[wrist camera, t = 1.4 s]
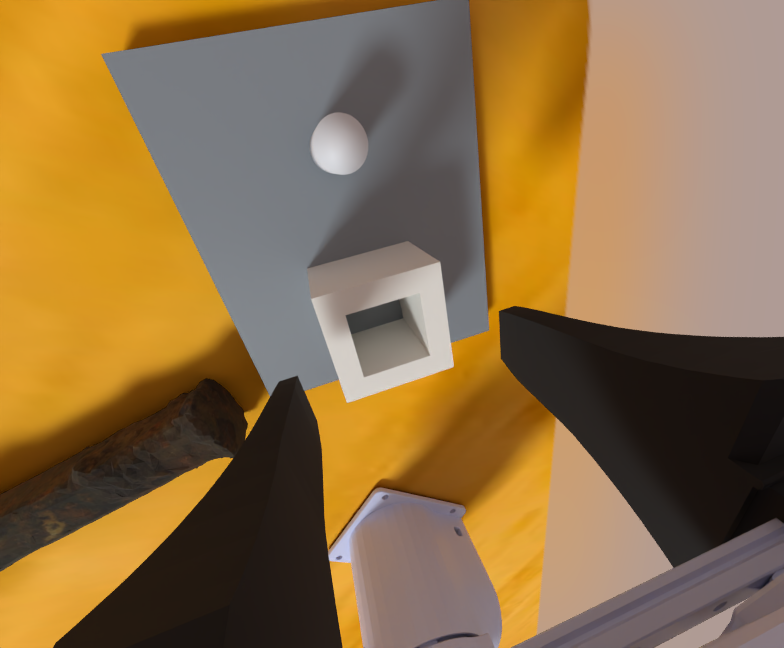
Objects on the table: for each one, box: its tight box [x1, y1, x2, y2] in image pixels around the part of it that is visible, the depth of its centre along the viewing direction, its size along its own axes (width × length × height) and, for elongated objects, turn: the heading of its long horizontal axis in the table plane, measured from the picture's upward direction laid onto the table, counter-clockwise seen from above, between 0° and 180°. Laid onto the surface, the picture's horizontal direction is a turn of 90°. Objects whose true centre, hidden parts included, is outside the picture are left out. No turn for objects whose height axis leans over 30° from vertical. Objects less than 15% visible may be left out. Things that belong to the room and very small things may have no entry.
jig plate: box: [101, 0, 489, 396], centre depth 14 cm, size 15×13×4 cm
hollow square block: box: [307, 241, 454, 403], centre depth 15 cm, size 5×5×4 cm
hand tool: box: [0, 379, 248, 571], centre depth 16 cm, size 19×4×5 cm, turn 111°
